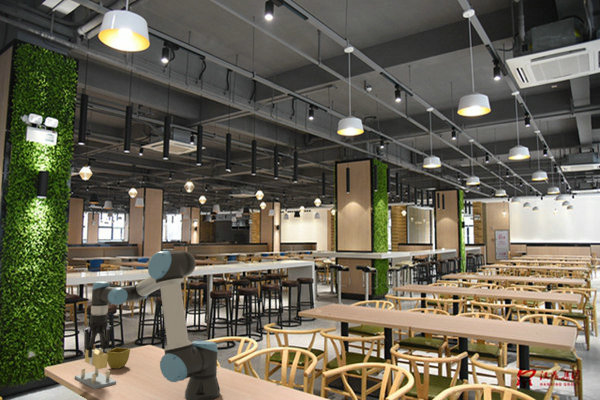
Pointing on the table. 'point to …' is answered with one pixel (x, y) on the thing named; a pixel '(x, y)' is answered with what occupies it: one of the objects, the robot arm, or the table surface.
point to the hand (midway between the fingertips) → (95, 363)
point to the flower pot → (118, 357)
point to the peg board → (98, 381)
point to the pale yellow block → (98, 358)
